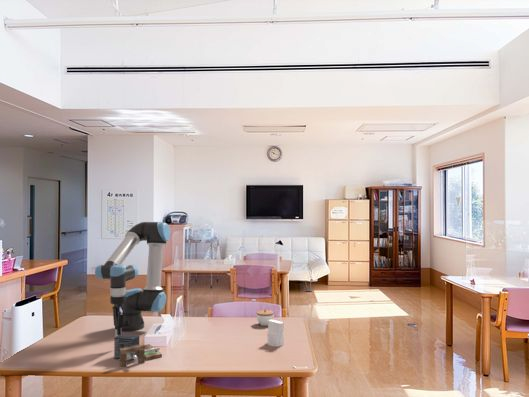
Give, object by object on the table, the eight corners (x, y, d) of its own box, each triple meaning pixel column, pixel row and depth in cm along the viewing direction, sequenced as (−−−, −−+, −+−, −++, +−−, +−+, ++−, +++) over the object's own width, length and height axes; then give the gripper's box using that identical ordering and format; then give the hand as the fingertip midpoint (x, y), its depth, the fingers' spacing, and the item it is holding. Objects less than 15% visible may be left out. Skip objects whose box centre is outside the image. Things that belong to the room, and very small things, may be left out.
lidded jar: (273, 327, 258) (273, 311, 258) (256, 326, 258) (256, 311, 258) (273, 322, 269) (273, 307, 269) (256, 322, 269) (256, 307, 269)
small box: (140, 356, 208) (140, 335, 209) (133, 361, 202) (133, 339, 202) (121, 354, 211) (121, 333, 211) (113, 359, 205) (113, 337, 205)
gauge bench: (149, 346, 222) (149, 331, 222) (163, 358, 205) (163, 342, 205) (109, 354, 210) (109, 338, 210) (121, 367, 194) (121, 350, 194)
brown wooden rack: (158, 352, 210) (158, 340, 210) (166, 358, 201) (166, 346, 201) (119, 360, 199) (119, 347, 199) (126, 367, 190) (126, 354, 190)
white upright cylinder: (287, 343, 227) (287, 321, 227) (276, 347, 221) (276, 324, 221) (275, 339, 233) (275, 318, 234) (264, 343, 227) (264, 321, 227)
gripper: (107, 293, 221) (107, 338, 221) (114, 298, 210) (114, 345, 211) (121, 291, 225) (122, 335, 226) (129, 296, 215) (129, 342, 215)
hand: (118, 340), depth 218 cm, fingers closed
